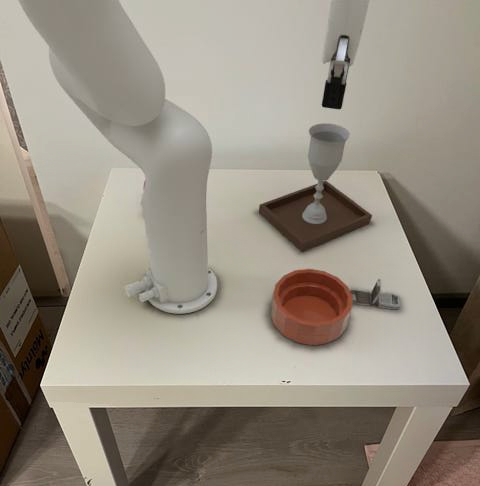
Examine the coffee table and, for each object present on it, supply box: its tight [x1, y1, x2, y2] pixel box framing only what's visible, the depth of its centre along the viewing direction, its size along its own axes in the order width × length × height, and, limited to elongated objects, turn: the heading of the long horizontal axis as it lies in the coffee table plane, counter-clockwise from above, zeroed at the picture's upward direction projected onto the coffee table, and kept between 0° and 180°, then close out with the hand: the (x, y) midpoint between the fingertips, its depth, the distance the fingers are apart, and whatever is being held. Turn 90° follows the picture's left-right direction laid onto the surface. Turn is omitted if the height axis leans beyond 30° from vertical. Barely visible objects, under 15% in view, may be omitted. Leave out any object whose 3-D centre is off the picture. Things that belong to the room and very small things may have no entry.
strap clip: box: [350, 278, 401, 310], centre depth 83 cm, size 8×3×4 cm, turn 80°
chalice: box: [302, 123, 351, 224], centre depth 93 cm, size 7×7×18 cm
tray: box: [258, 180, 373, 253], centre depth 99 cm, size 18×15×2 cm
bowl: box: [270, 268, 354, 346], centre depth 80 cm, size 13×13×5 cm
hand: (333, 95), depth 81 cm, fingers open, 9 cm apart
